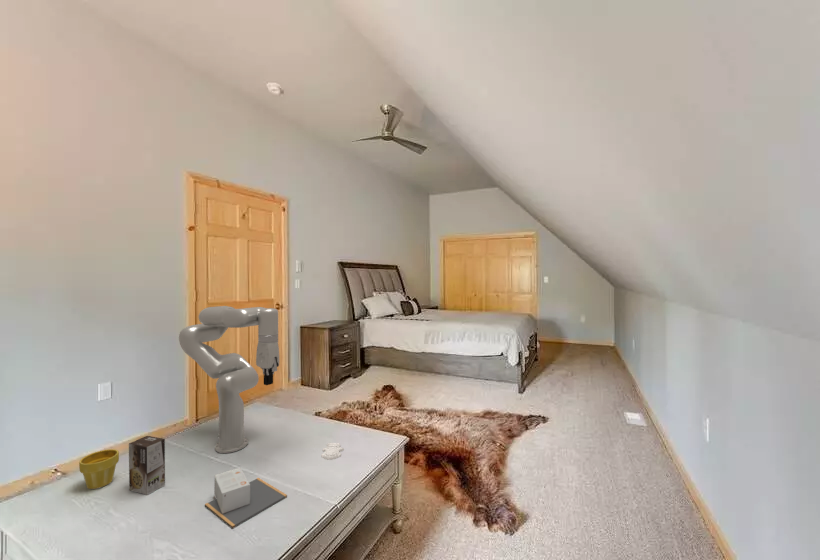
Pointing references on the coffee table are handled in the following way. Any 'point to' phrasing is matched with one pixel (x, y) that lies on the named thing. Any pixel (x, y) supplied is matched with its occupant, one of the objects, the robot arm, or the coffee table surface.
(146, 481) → the coffee box
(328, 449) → the astronaut figurine
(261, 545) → the coffee table surface
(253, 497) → the mat
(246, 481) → the small box
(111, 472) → the plant pot
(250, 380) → the robot arm
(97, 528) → the coffee table surface
